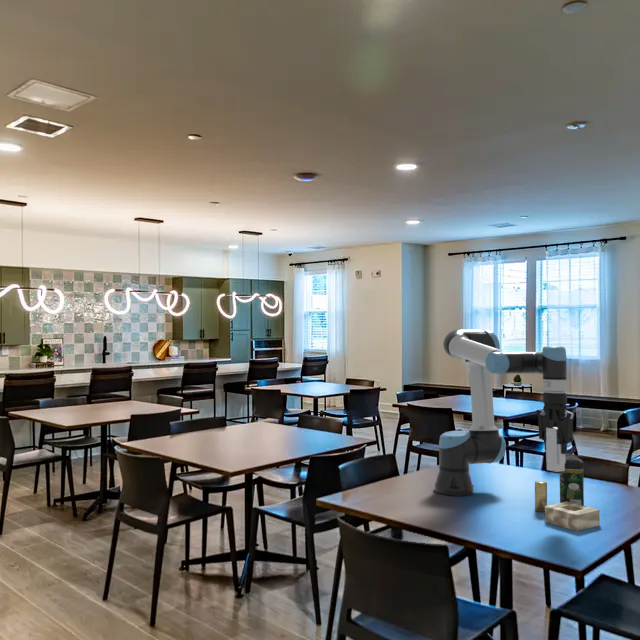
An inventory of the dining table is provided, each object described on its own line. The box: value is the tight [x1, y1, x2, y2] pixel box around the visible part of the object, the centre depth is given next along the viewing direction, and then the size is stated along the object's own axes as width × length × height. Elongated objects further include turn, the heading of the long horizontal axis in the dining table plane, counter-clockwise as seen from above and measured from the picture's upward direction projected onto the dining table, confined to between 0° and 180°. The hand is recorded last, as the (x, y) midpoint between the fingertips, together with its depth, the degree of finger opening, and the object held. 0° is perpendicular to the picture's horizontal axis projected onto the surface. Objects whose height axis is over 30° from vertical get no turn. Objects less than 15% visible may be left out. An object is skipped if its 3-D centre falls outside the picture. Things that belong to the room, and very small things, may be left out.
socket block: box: [544, 502, 601, 532], centre depth 203 cm, size 12×12×5 cm
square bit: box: [546, 426, 565, 473], centre depth 206 cm, size 4×4×14 cm
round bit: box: [534, 480, 548, 513], centre depth 218 cm, size 4×4×10 cm
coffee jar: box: [559, 455, 585, 506], centre depth 221 cm, size 10×8×19 cm
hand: (555, 462), depth 206 cm, fingers closed on square bit, 4 cm apart
